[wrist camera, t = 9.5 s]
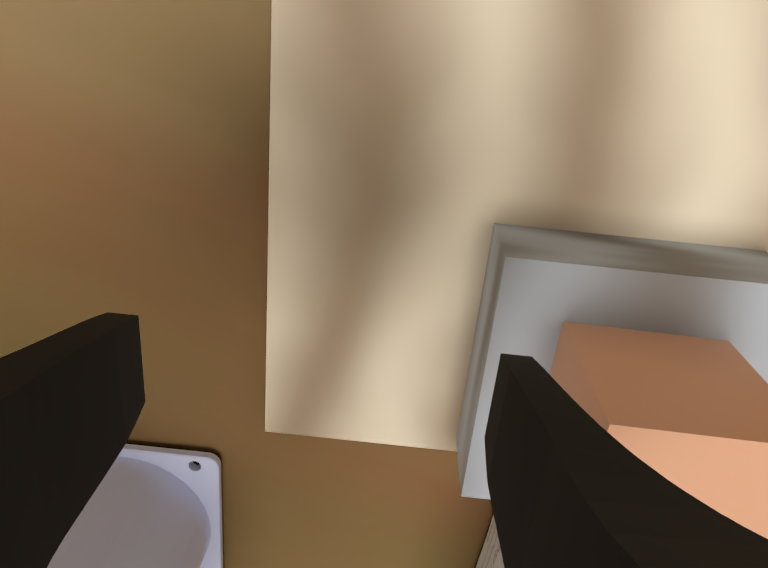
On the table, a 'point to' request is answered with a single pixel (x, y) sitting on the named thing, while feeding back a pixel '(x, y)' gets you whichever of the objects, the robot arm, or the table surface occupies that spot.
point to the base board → (502, 199)
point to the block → (676, 410)
